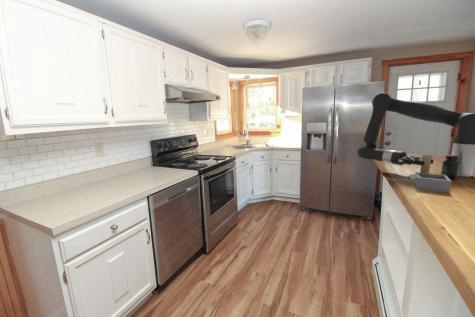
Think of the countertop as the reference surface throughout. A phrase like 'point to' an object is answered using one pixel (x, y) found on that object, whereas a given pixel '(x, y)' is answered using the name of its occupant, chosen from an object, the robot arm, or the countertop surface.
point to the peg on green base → (425, 167)
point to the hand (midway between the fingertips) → (428, 162)
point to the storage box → (432, 182)
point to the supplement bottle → (450, 167)
